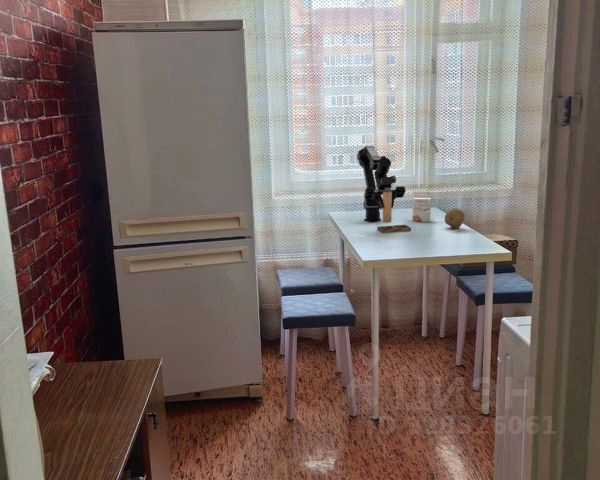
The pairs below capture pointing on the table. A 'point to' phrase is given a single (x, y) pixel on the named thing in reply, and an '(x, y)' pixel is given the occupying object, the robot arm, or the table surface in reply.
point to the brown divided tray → (393, 228)
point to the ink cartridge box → (421, 206)
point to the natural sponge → (454, 218)
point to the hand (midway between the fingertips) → (388, 207)
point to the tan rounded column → (387, 205)
